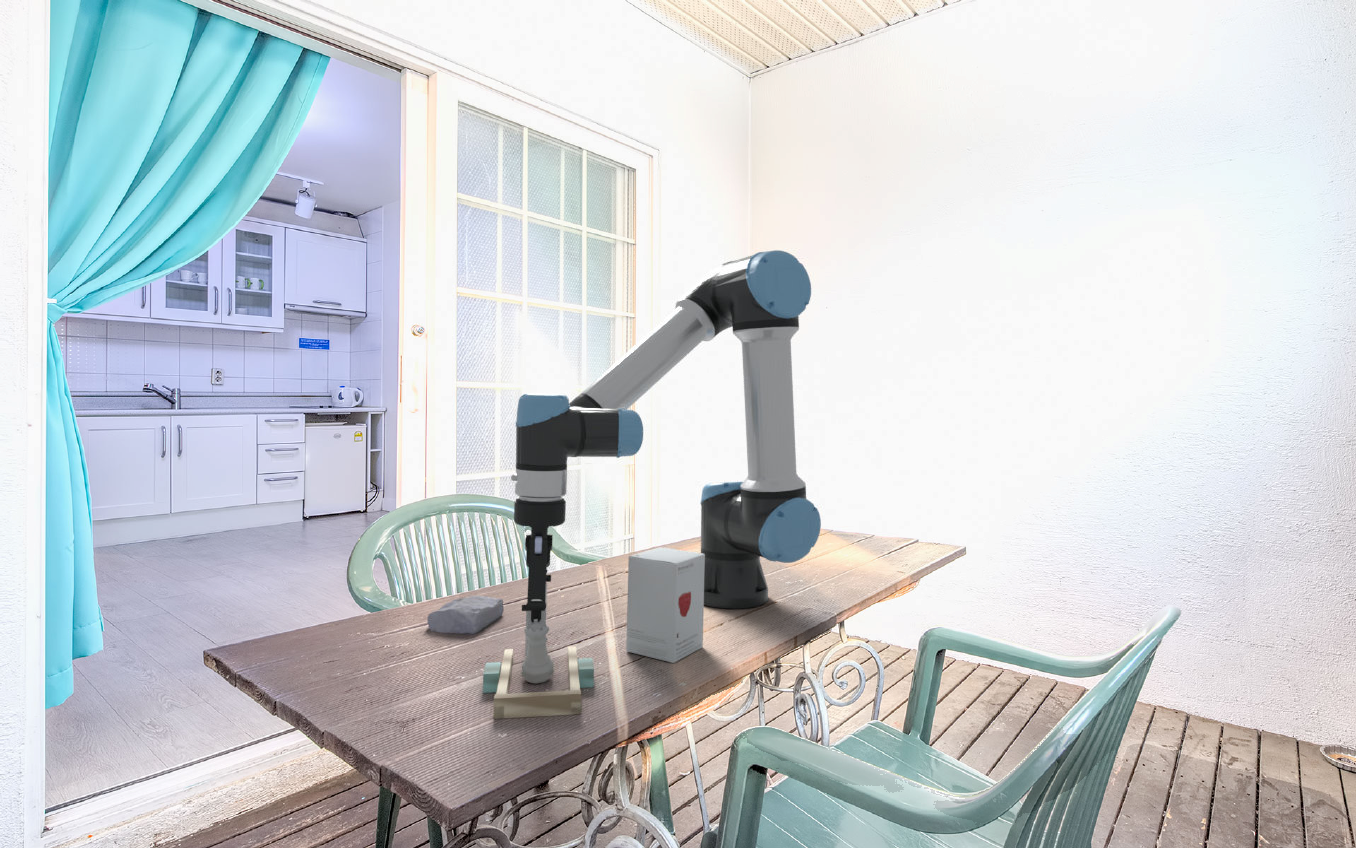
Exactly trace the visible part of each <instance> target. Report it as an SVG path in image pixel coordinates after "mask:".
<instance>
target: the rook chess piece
mask: <svg viewBox="0 0 1356 848" xmlns="http://www.w3.org/2000/svg"><path fill="white" fill-rule="evenodd" d="M549 631H550V629H549V626H548V624H547V621H546V622H544V620H542V619H541V620H540V622H538V619H534V622H533V623H532V621H531V620H530V621H529V622H528V624H527V627H526V626H525V629H524V634H525V636H526V635H527V636H528V638H527V640H526V639H525V641H527V643H528V652H527V656H525V658H524V660H523V662H522V664H521V673H520V674H521V677H522V678H523V679H524V680H525V681H526V682H527V683H530V684H543V683H545V682H548V680H550V679H551V678H552V677H553V675H554V672H555V669H554V661H553V659H552V658H551V656H550V655H549V654H548V650H547V641H548V637H547V634H548V633H549Z"/></svg>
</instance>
